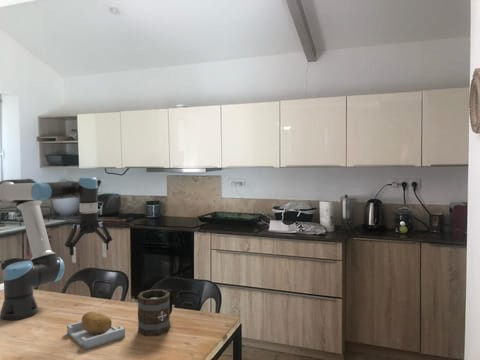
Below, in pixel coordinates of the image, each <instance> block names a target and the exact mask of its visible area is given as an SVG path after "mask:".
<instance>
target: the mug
mask: <svg viewBox="0 0 480 360" xmlns="http://www.w3.org/2000/svg"><path fill="white" fill-rule="evenodd" d="M173 295H174V294H173V290H172V289H168V288H167V289H166V290H165V289H148V290H143V291H140V292H139V294H138V295H137V304H138V305H137V321H138V325H137V326H138V328H137V333H138V334H140V335H141V336H143V337H159V336H163V335H164V334H167V333H169V331H170V329H171V322H170V321H171V320H170V318H171V314H172V312H173V311H172V310H173Z"/></svg>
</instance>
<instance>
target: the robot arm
mask: <svg viewBox="0 0 480 360" xmlns="http://www.w3.org/2000/svg"><path fill="white" fill-rule="evenodd" d="M98 188H99V186H98V179H97V178H96V177H94V176H93V177H92V176H91V177H89V176H88V177H84V176H83V177H79V179H78V181H75V180H67V181H57V182H55V181H54V182H41V181H40V180H38V179H37V178H36V179H34V178H22V179H20V178H19V179H18V178H17V179H4V180H1V181H0V203H2V204H15V206H16V208H17V209H18V210H20V211H21V215H22V220H23V224H24V229H25V231H26V236H27V240H28V243H29V247H30V251H31V256H32V257H31V258H30V260H22V261H17V262H13V263H10V264H9V265H7V266H6V267H5V268H4V270H3V276H2V277H3V293H4V300H3V302H2V305H1V309H0V319H2V320H4V321H16V320H22V319H26V318H29V317H32V316H34V315H36V314H37V313H38V311H39V309H38V308H39V306H38V303H37V301H36V298H35V296H34V288H38V287H42V286H44V285H45V286H46V285H48V284H53V283H55V282H58V281H60V279H62V278H63V276H64V274H65V262H64V260H63V259H62V258H61V257H60V256H57V253H56V252H54V251H53V250H52V247H51V244H50V241H49V236H48V233H47V228H46V225H45V224H46V223H45V221H44V217H43V212H42V210H41V205H42V204H43V202H44V201H55V200H64V199H66V200H67V199H79V212H80V213H79V224H74V223H73V224H72V226H71V230H70V233H69V235H68V237H67V238H66V241H65V243H64V246H65V247H66V248H69V255H70V256H71V262H72V263H73V264H76V263H77V252H76V251H77V248H76V247H75V246H76V245H77V244H78V242H79V241H80V240H81V239H82V237H83V236H84V235H85V234H87V235H88V234H94V233H95V234H96V235H97V236H98V237H99V238H100V240H102V241H103V242H101V245H102V246H101V247H102V249H101V250H102V253H101V254H102V258H105V259H107V256H108V255H107V251H108V249H109V243H110V242H112V241H113V238H112V236H111V234H110V232H109V231H108V228H107V227H106V222H105V221H100V222H99V220H98V219H99V214H98V210H99V208H98V207H99V205H98V199H99V198H98ZM99 227H100V228H101V230H102V232H103V233H102V232H100V230H99V229H98V228H99ZM79 229H80V230H79ZM77 230H79V231H78V233H77ZM76 233H77V234H76ZM75 235H76V236H75Z"/></svg>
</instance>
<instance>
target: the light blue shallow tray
mask: <svg viewBox="0 0 480 360" xmlns="http://www.w3.org/2000/svg"><path fill="white" fill-rule="evenodd" d="M66 327H67V328H66V332H67V333H66V334H67V335H68V336H69V337H71V339H73V340H74V341H75V342H76V343H77V345H79V346H81V348H82V349H83V350H84V351H86V350H89V349H92V348H96V347H98V346H99V347H100V346H101V345H104V344H108V343H111V342H114V341H118V340H120V339H123V338H126V328H125V327H123V326H122V325H118V327H116V326H114V325H113V324H112V325H111V328H110V329H109V330H108V331H107V332H105V333H103V334H96V335H93V334H91V333H89V332H87V331H85V329H84V327H83V325H82V320H81V321H77V322H74V323H70V324H67V325H66Z"/></svg>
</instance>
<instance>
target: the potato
mask: <svg viewBox="0 0 480 360" xmlns="http://www.w3.org/2000/svg"><path fill="white" fill-rule="evenodd" d="M81 321H82V325H83V327H84V329H85V331H87V332H89V333H91V334H93V335H96V334H103V333H105V332H107V331H108V330H109V329H110V328H111V325H113V324H112V323H113V322H112V319H111V318H110V316H108V315H106V314H103V313H101V312H97V311H87V312H85V313H84V314H83V315H82V318H81Z"/></svg>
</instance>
